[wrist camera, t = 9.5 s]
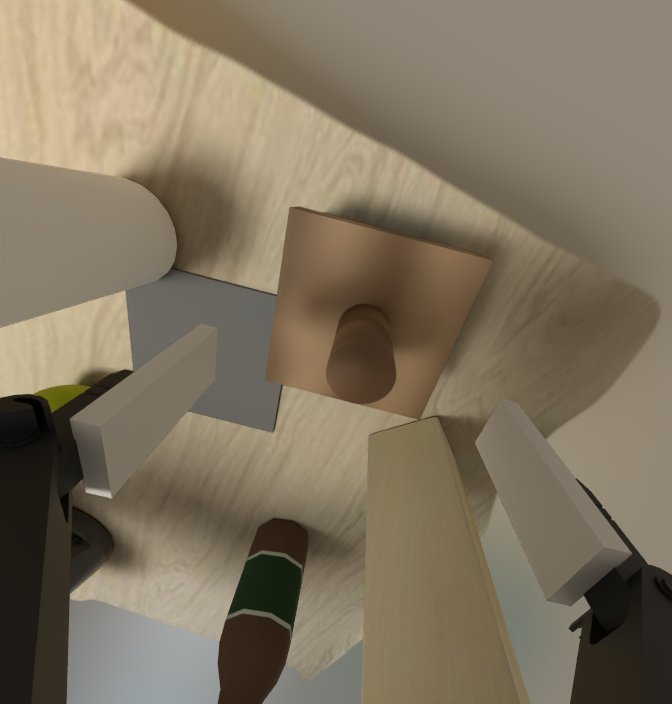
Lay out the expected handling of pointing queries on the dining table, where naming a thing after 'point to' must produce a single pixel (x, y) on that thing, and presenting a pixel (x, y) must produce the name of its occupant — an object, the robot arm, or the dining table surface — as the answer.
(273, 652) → the beer bottle
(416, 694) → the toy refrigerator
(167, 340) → the mat
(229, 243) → the dining table surface
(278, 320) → the lid cover
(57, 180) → the potion bottle
